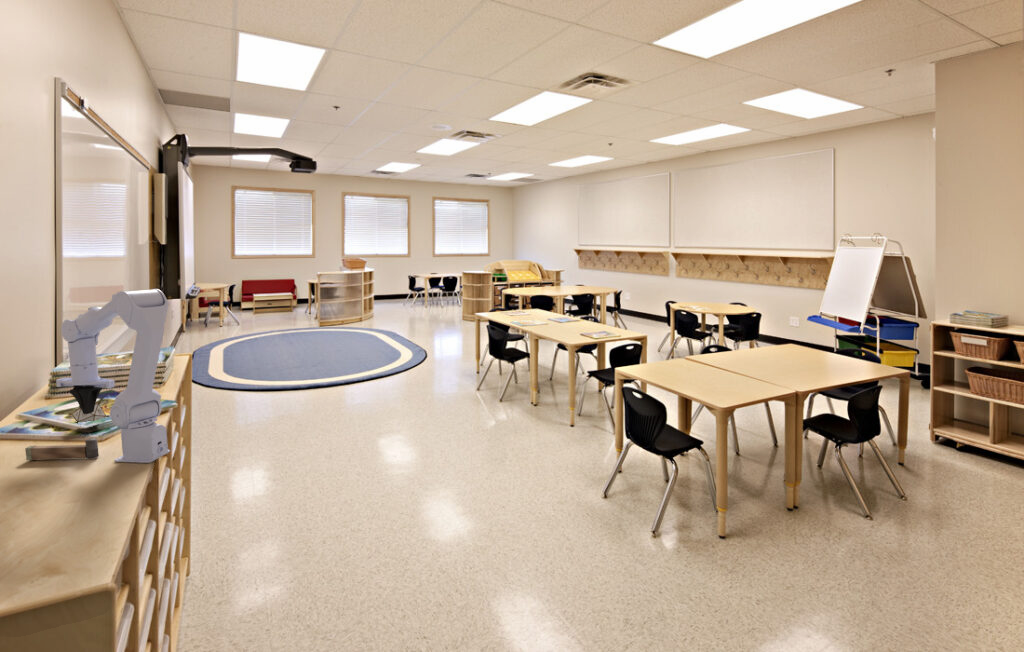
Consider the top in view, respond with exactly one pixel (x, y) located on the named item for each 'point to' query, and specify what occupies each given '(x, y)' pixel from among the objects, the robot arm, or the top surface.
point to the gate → (64, 451)
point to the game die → (92, 416)
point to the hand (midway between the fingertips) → (88, 412)
